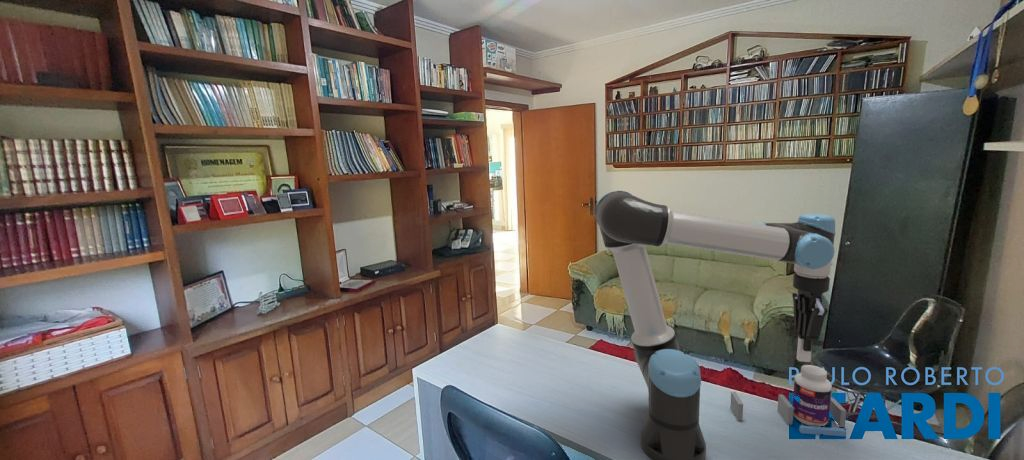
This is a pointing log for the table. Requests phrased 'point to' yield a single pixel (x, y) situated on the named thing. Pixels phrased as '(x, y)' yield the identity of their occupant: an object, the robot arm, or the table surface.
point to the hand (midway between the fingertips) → (803, 360)
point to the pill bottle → (812, 396)
